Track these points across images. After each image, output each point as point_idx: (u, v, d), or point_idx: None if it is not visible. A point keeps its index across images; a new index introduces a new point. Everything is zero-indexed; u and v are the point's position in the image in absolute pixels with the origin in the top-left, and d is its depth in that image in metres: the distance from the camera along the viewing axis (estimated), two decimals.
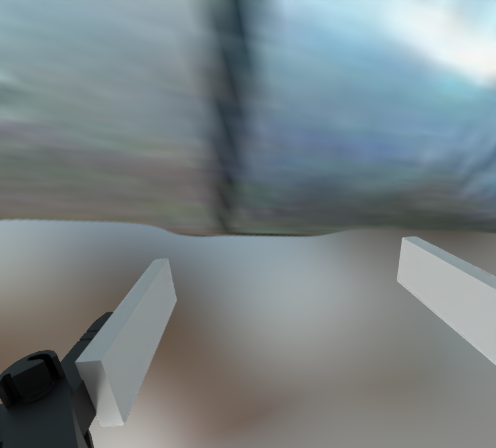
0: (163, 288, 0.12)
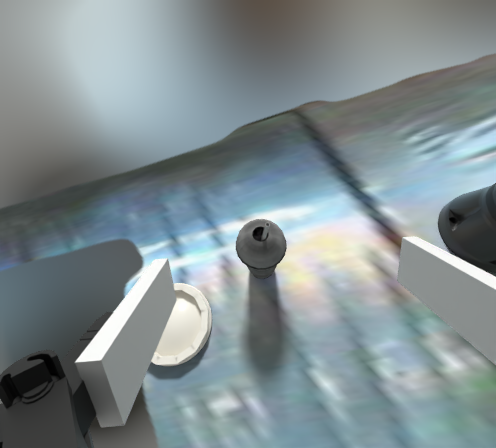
0: (163, 288, 0.12)
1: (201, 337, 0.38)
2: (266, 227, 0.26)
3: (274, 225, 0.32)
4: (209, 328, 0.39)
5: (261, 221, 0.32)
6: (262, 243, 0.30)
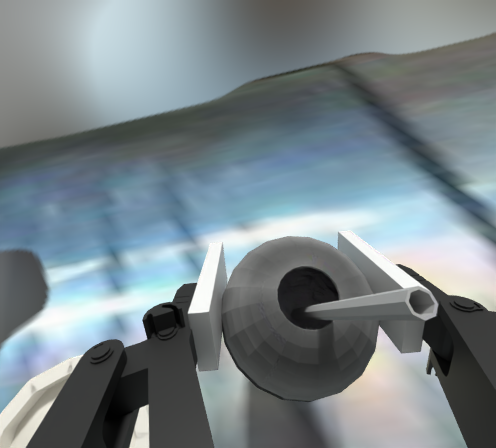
0: (222, 267, 0.14)
1: None
2: (401, 316, 0.04)
3: (349, 262, 0.10)
4: None
5: (307, 246, 0.10)
6: (317, 337, 0.08)
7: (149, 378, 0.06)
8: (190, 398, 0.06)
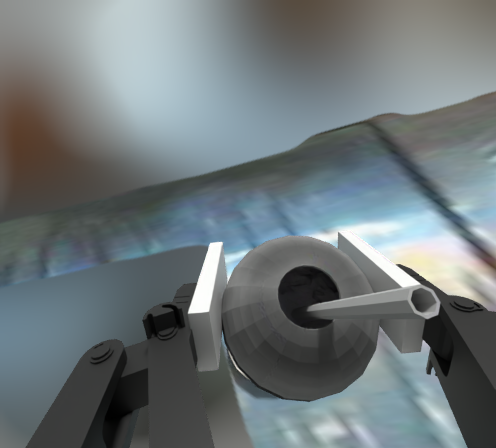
0: (222, 267, 0.14)
1: None
2: (403, 315, 0.04)
3: (349, 261, 0.10)
4: None
5: (307, 245, 0.10)
6: (317, 337, 0.08)
7: (149, 378, 0.06)
8: (190, 398, 0.06)
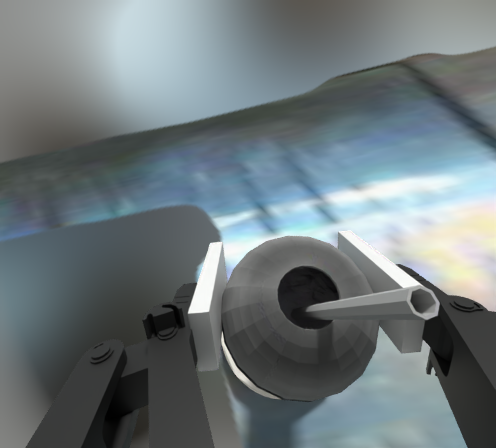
0: (222, 267, 0.14)
1: None
2: (402, 316, 0.04)
3: (349, 261, 0.10)
4: None
5: (307, 246, 0.10)
6: (317, 337, 0.08)
7: (149, 378, 0.06)
8: (190, 397, 0.06)
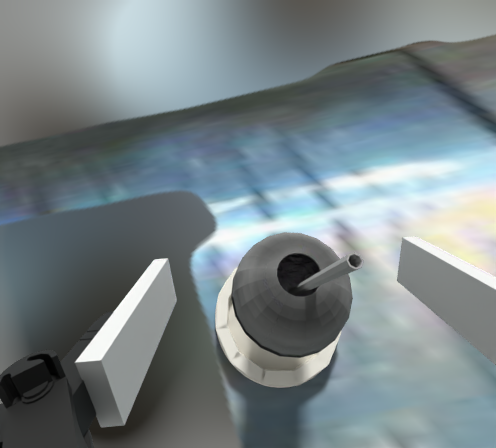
0: (163, 288, 0.12)
1: (333, 342, 0.23)
2: (346, 270, 0.07)
3: (330, 251, 0.13)
4: None
5: (299, 239, 0.13)
6: (305, 302, 0.11)
7: None
8: None
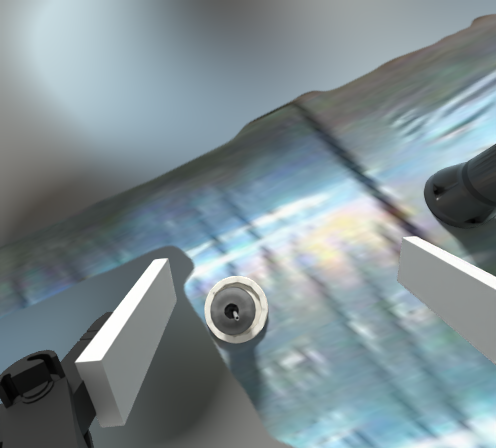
0: (163, 288, 0.12)
1: (264, 315, 0.47)
2: (236, 319, 0.30)
3: (242, 297, 0.36)
4: (267, 307, 0.49)
5: (230, 296, 0.35)
6: (234, 320, 0.34)
7: None
8: None
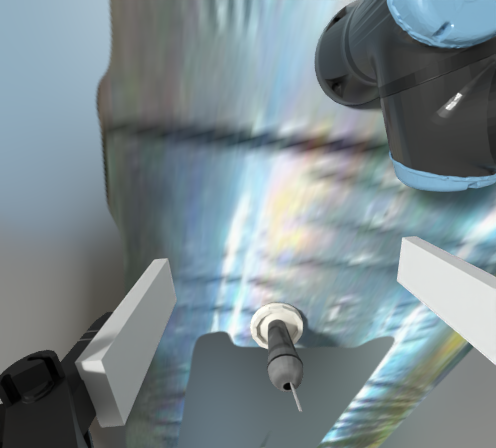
0: (163, 288, 0.12)
1: (297, 317, 0.57)
2: None
3: (285, 371, 0.44)
4: (293, 308, 0.57)
5: (279, 379, 0.44)
6: (295, 387, 0.44)
7: None
8: None
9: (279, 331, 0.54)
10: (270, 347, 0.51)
